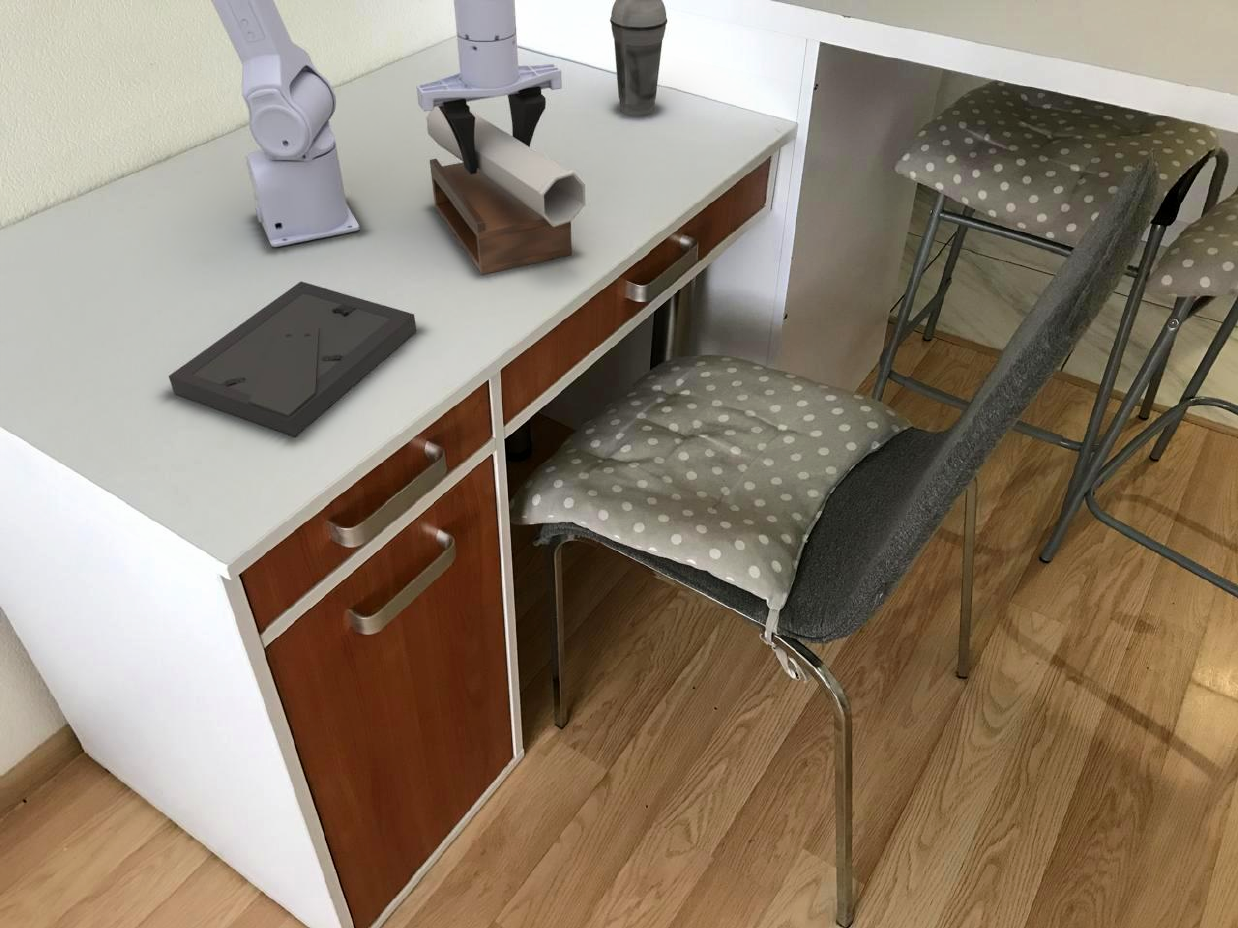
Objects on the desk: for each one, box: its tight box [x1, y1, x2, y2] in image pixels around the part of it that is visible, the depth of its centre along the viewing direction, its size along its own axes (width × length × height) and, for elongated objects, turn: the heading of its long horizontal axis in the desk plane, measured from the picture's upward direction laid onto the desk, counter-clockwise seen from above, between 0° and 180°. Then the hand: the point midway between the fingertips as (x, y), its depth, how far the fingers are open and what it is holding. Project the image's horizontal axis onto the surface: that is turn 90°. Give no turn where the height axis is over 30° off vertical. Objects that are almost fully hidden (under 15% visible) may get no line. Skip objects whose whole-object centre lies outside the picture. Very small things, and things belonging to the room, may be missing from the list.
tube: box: [426, 107, 586, 227], centre depth 109 cm, size 5×5×25 cm
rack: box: [429, 158, 573, 275], centre depth 113 cm, size 10×16×6 cm, turn 25°
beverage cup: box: [609, 0, 668, 117], centre depth 134 cm, size 7×7×20 cm
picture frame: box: [168, 280, 417, 438], centre depth 95 cm, size 13×2×18 cm
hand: (496, 165), depth 110 cm, fingers closed on tube, 5 cm apart
